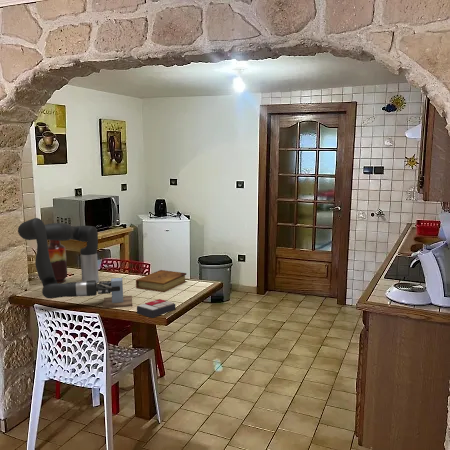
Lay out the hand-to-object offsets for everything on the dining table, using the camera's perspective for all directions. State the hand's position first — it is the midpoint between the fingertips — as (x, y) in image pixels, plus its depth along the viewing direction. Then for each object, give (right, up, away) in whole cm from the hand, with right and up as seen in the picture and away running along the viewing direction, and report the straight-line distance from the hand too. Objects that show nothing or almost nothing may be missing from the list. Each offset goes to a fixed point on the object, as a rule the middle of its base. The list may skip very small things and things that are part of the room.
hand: (120, 286), depth 230 cm
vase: (-46, -3, +41) cm, 62 cm away
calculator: (+20, -11, -12) cm, 26 cm away
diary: (+16, -4, +32) cm, 36 cm away
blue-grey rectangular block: (-1, -7, +1) cm, 8 cm away
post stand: (-1, -8, +1) cm, 9 cm away
